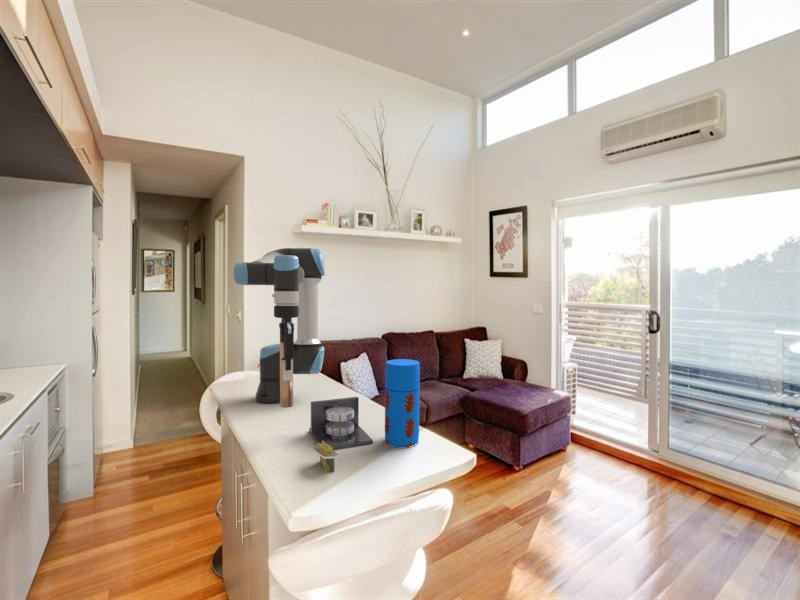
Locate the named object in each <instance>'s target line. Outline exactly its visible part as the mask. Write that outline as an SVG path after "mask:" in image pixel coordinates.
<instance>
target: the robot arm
mask: <svg viewBox="0 0 800 600" xmlns="http://www.w3.org/2000/svg"><path fill="white" fill-rule="evenodd" d="M232 273H233V280H234V282H235V284H237V285H239V286H273V293H272V295H271V297H272V298H274V299H273V302H274V305H273V317H274V318H276V319H277V318H278V319H281V321H280V322H279V324H278V325H279V326H278V327H279V343H274V344H269V345H266V346H265V345H264V346H263V347H261V349H260V350H259V351H260V352H259V384H258V386H257V389H256V393H255V401H256V402H257V401H258V402H257V403H260V402H262V403H261V404H280V403H279V402H280V343H282V342H283V346H284V358H281V360H283V381H288V380H292V359H293V375H317V374H319V373H320V372H321V371H322V369H323V368H322V367H323V364H324V359H325V346H322V342H321V341H320V340H319V339H318V334H319V333H318V328H319V327H318V325H319V324H318V323H319V322H318V321H319V319H318V318H319V317H318V315H319V313H318V311H319V308H318V306H319V296H318V295H319V283H320V282H321V281H322V280H323V279H322V277H325V276H326V266H325V259H324V254H323V252H322V250H321V249H320V248H310V247H309V248H306V247H305V248H304V247H302V248H299V247H298V248H297V247H296V248H293V247H285V248H278V249H275V250H271V251H269V252H268V251H267V253H265V254H264V255H263V256H262V257H260V258H259V259H256V260H253V261H250V262H246V261H243V262H236V263H235V265H234V267H233V272H232ZM292 318H293V319H294V318H296V321H297V323H296V325H297V326H296V329H297V330H296V332H297V333H296V340H295V339H294V333H295V323H293V322H292V321H293V320H292ZM294 340H295V341H294Z"/></svg>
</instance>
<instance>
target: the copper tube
mask: <svg viewBox="0 0 800 600" xmlns="http://www.w3.org/2000/svg"><path fill="white" fill-rule="evenodd" d="M279 344H280V403H279V407H280V408H292V407H294V374H293V359H292V380H288V381H283V360H281V358H284V346H283V342H282V343H280V342H279Z"/></svg>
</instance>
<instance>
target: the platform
mask: <svg viewBox="0 0 800 600" xmlns="http://www.w3.org/2000/svg"><path fill="white" fill-rule="evenodd" d="M312 451H313V452H314V453H316V454H317V455H318V456H319V460H320V461H319V462H320V463H322V464H321V465H322V466H323V470H324V472H328V471H332V472H333V473H334V472H335V459H337V458H339V457H340V454H339V453H337V451H336V450H332V447H331V446H329V445H328V444H327V443H325V442H324V441H322V443H320V444H319V443H318V442H317V443H316V445H314V447H312ZM329 468H330V469H329Z"/></svg>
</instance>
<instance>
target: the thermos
mask: <svg viewBox="0 0 800 600" xmlns="http://www.w3.org/2000/svg"><path fill="white" fill-rule="evenodd" d="M420 365H421V364H420V362H419V360H415V359H414V360H413V359H408V358H407V359H406V358H401V359H399V358H397V359H390V360H386V362H385V368H384V369H385V371H384V372H385V373H384V375H385V376H384V378H385V379H384V382H385V383H384V385H385V386H384V440H385V444H386V443H387V444H386V445H388V444H389V445H391V446H390V447H392V446H395V447H394V448H397V447H408V448H410V447H409V446H412V445H415V444H417V443H418V444H419V440H420V439H419V438H420V394H421V393H420V390H421V389H420V387H421V386H420V383H421V382H420V380H421V379H420V377H421V367H420ZM418 444H417V445H418ZM389 445H388V446H389ZM415 446H416V445H415Z"/></svg>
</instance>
